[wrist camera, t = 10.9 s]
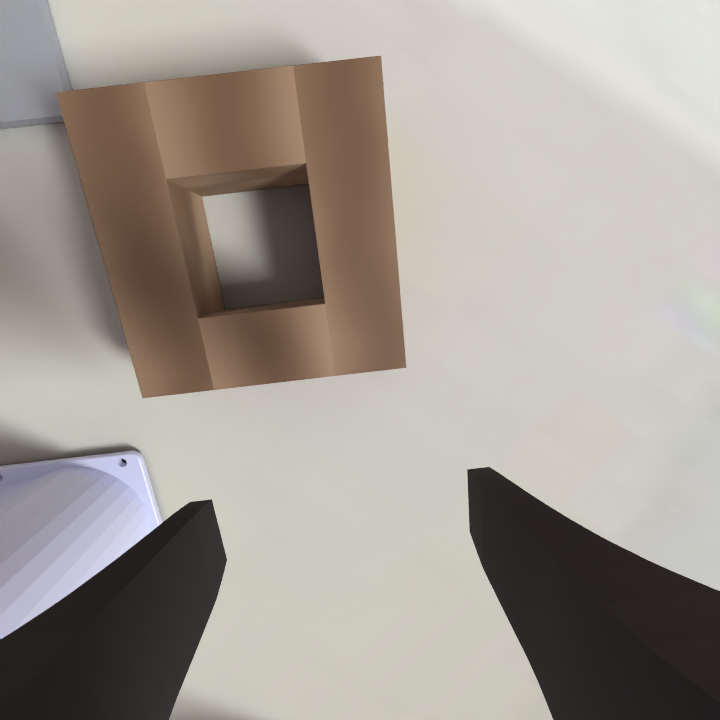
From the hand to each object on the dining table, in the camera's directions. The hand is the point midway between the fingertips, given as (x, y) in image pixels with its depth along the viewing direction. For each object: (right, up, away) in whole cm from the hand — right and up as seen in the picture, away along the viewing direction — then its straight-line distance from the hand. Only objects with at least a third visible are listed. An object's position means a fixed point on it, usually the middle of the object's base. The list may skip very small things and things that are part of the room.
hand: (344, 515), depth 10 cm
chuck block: (-4, +10, +8) cm, 13 cm away
